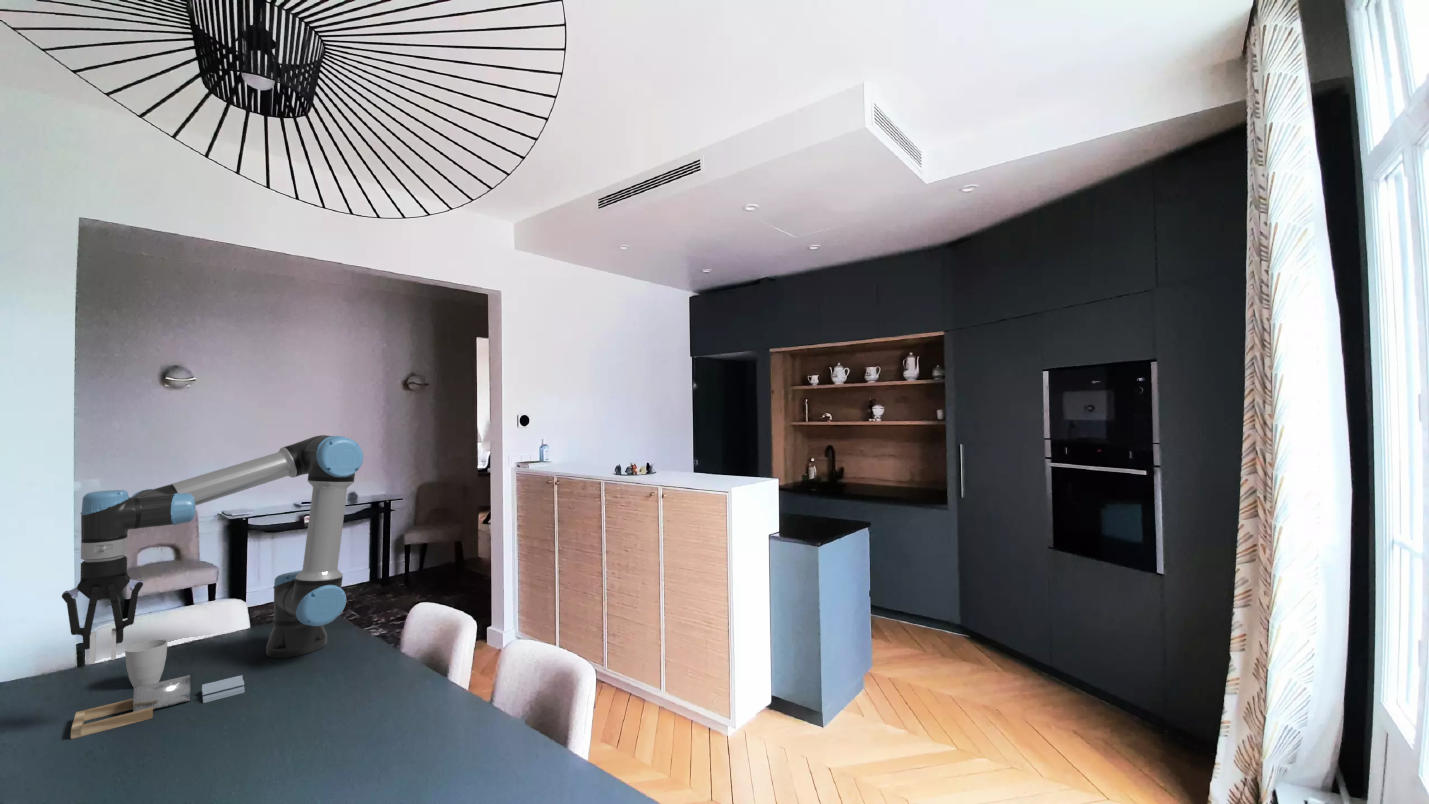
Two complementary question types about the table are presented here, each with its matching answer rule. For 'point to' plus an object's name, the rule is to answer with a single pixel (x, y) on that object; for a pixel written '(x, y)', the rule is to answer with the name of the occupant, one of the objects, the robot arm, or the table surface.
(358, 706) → the table surface
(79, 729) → the wooden flat frame
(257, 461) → the robot arm
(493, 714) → the table surface
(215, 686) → the v block
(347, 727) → the table surface
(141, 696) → the grey metal cylinder
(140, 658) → the cup
